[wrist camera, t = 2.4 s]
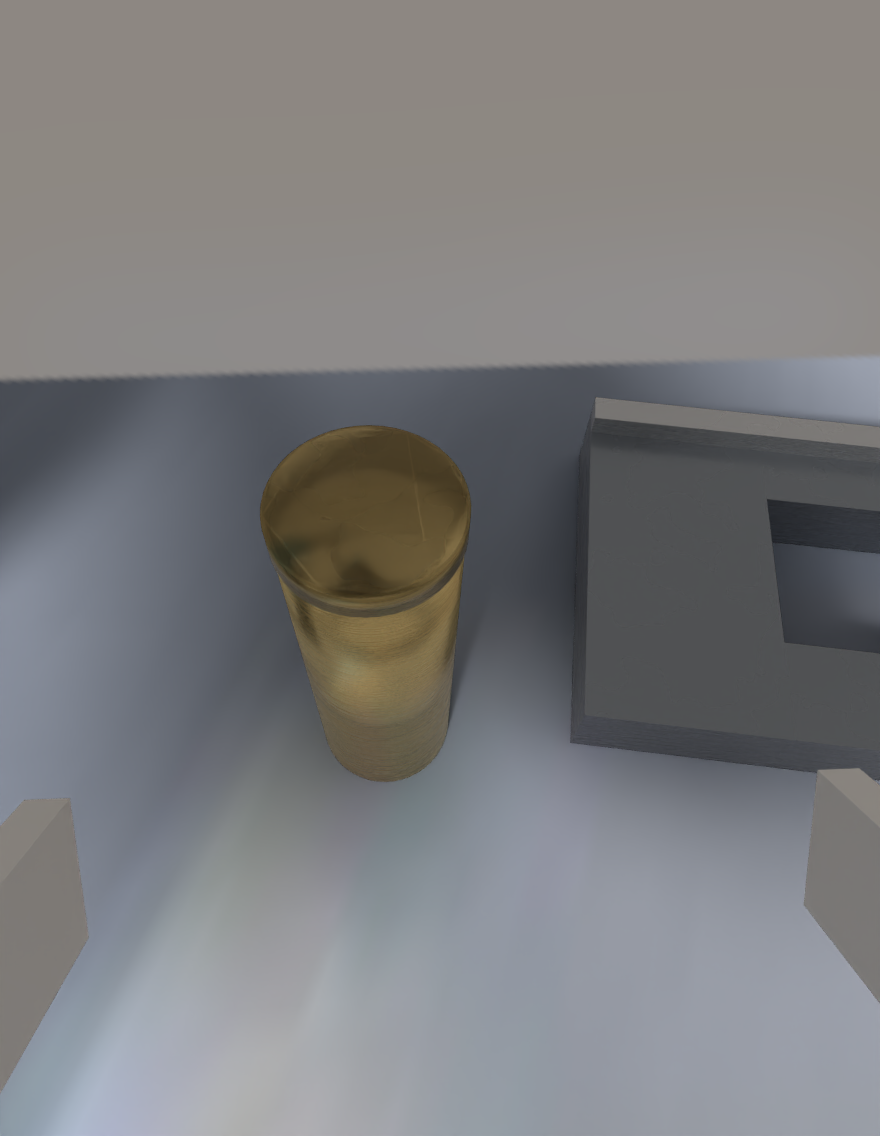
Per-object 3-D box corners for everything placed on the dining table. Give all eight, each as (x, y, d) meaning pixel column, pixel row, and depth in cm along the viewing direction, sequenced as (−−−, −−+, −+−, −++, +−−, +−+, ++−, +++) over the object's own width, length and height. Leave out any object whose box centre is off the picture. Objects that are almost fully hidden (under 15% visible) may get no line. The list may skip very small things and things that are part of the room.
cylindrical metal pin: (311, 774, 25) (237, 583, 14) (336, 656, 27) (285, 415, 16) (441, 791, 24) (459, 609, 14) (455, 670, 27) (479, 436, 16)
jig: (570, 742, 25) (589, 705, 23) (579, 455, 32) (595, 397, 29) (1142, 812, 25) (1236, 782, 22) (1036, 504, 31) (1099, 449, 28)
